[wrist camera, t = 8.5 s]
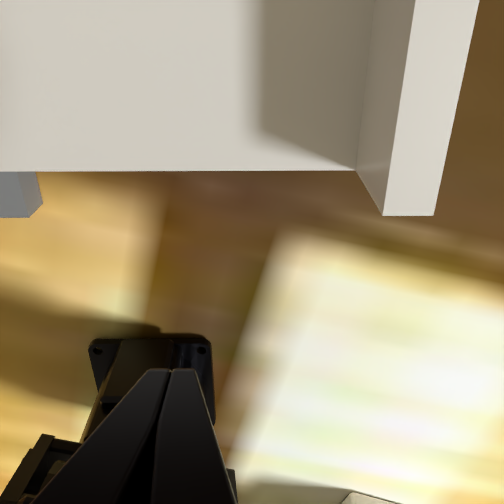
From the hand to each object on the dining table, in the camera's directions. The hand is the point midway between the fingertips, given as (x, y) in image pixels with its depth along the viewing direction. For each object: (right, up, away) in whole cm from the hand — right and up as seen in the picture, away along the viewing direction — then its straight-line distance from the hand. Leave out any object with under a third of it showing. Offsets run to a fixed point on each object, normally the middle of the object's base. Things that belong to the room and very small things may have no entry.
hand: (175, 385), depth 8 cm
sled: (-5, +9, +8) cm, 13 cm away
